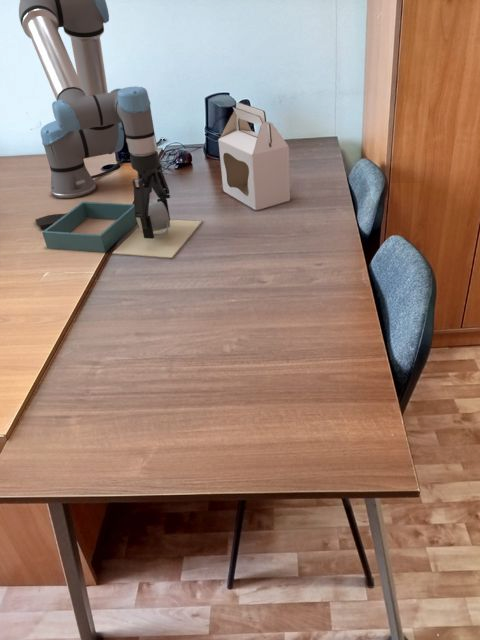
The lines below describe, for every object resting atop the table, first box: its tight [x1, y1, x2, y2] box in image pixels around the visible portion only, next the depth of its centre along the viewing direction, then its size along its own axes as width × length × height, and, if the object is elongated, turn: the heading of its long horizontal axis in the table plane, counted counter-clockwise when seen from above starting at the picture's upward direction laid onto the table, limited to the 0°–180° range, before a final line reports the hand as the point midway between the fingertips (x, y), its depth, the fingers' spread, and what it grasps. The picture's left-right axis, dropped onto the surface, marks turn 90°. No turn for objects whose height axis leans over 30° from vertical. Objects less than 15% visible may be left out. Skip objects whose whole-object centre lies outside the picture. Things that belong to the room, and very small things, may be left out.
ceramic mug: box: [136, 201, 171, 238], centre depth 151 cm, size 11×8×8 cm
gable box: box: [217, 102, 291, 211], centre depth 169 cm, size 22×13×28 cm, turn 32°
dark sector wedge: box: [34, 212, 68, 231], centre depth 169 cm, size 8×14×2 cm, turn 120°
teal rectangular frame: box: [41, 201, 138, 253], centre depth 159 cm, size 23×19×5 cm
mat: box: [111, 219, 203, 260], centre depth 156 cm, size 24×18×1 cm
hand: (157, 229), depth 154 cm, fingers closed on ceramic mug, 11 cm apart
